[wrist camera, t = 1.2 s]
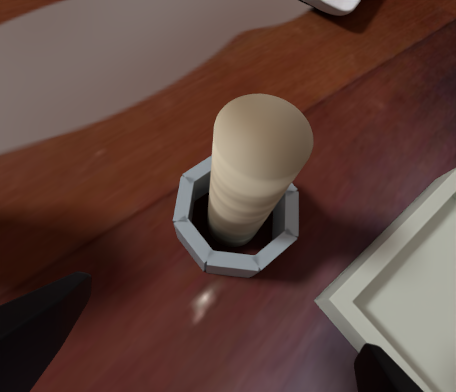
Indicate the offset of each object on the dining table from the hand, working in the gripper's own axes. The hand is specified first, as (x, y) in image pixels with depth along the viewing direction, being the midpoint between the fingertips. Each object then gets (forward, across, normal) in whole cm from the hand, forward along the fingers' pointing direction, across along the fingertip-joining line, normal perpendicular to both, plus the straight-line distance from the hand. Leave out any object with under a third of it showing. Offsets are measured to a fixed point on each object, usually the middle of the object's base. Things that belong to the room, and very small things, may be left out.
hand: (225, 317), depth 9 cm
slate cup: (+15, 0, +4) cm, 15 cm away
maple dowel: (+15, 0, +4) cm, 15 cm away
